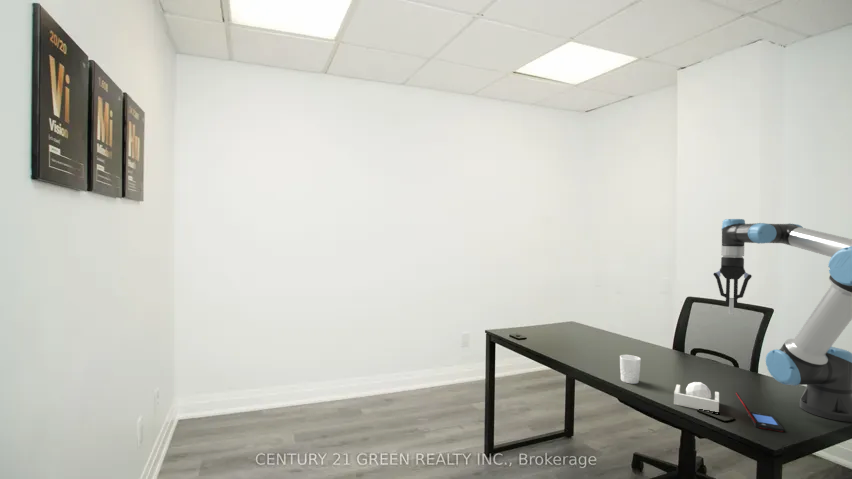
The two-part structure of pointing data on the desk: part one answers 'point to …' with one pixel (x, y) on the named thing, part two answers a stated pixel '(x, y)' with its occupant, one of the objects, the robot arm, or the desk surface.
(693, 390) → the geometric ball
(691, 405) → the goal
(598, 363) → the desk surface
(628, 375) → the white cup
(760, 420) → the handheld game console
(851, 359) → the robot arm
